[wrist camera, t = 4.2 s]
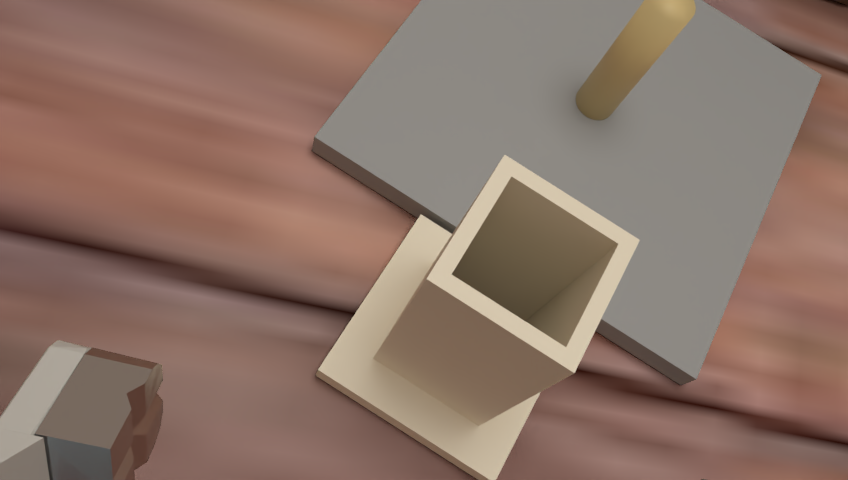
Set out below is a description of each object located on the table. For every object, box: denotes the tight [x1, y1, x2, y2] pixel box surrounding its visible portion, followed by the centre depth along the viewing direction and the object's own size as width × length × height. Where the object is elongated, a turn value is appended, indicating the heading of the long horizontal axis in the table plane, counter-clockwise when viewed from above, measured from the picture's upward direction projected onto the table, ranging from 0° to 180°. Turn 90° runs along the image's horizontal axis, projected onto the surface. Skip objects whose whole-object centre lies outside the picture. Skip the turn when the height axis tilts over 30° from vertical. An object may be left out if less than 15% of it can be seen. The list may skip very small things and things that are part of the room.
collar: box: [316, 155, 640, 480], centre depth 26 cm, size 8×8×10 cm
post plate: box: [312, 0, 821, 385], centre depth 33 cm, size 18×18×8 cm
